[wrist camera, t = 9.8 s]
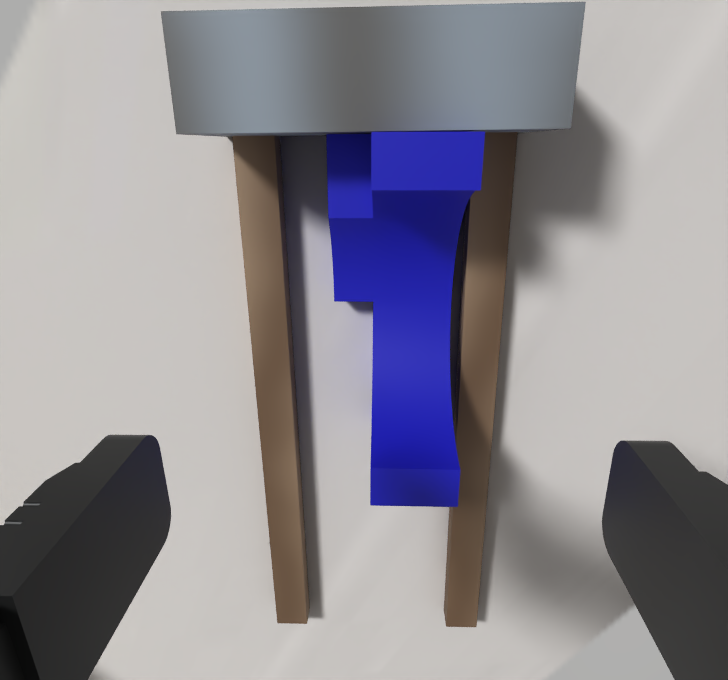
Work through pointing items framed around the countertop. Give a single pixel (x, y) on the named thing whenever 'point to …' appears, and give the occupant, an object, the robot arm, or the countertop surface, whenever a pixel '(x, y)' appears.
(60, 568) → the robot arm
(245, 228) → the guide channel
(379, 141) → the cable clip
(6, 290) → the countertop surface
